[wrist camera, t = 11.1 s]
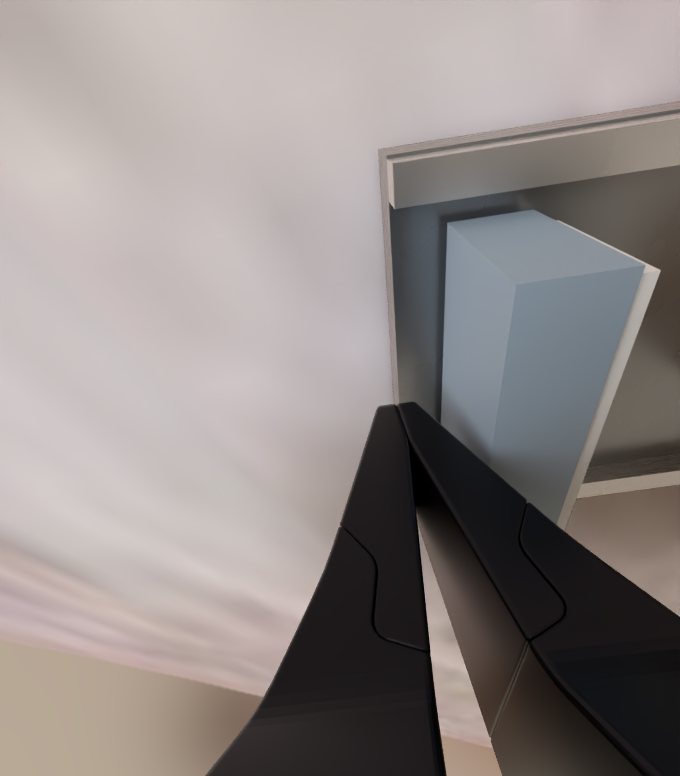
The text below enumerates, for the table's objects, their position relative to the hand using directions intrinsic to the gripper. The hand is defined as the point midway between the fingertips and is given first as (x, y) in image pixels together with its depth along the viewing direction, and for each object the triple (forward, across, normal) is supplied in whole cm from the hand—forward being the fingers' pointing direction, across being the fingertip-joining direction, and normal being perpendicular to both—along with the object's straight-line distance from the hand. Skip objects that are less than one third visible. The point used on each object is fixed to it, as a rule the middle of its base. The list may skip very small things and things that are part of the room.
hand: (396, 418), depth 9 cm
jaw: (+1, -2, 0) cm, 3 cm away
